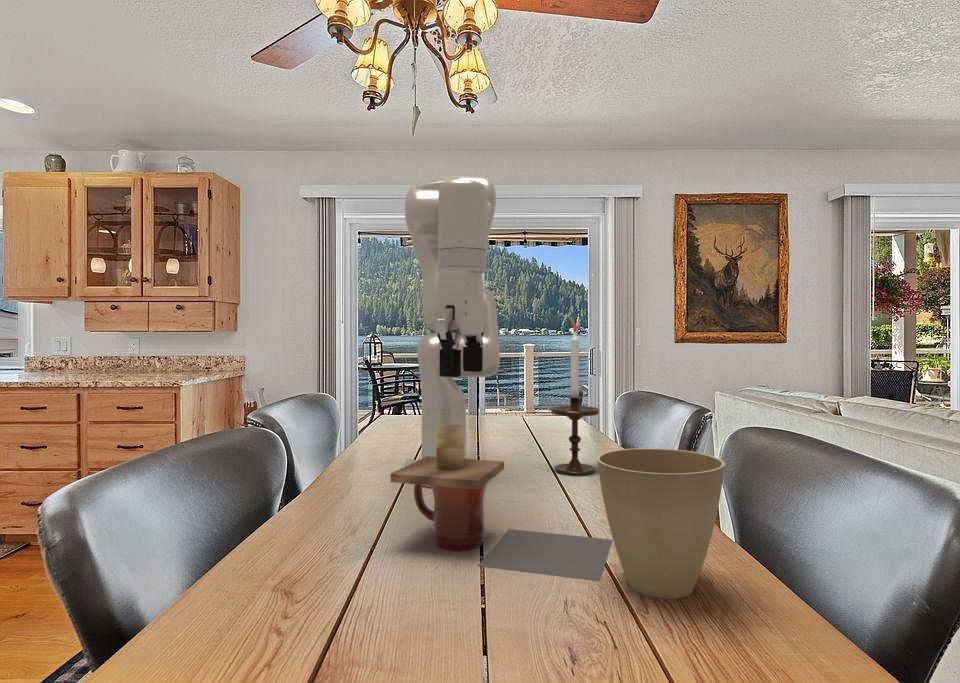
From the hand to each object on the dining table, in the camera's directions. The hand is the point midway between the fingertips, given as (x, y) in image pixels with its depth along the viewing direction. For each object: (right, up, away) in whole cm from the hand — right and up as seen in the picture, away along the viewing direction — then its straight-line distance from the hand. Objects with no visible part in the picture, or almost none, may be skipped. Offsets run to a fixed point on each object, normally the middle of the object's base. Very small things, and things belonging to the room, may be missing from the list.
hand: (462, 373), depth 93 cm
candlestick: (+25, -25, +45) cm, 57 cm away
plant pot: (+25, -25, -20) cm, 40 cm away
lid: (-2, -15, -4) cm, 15 cm away
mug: (-2, -25, -4) cm, 26 cm away
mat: (+13, -25, -8) cm, 29 cm away
